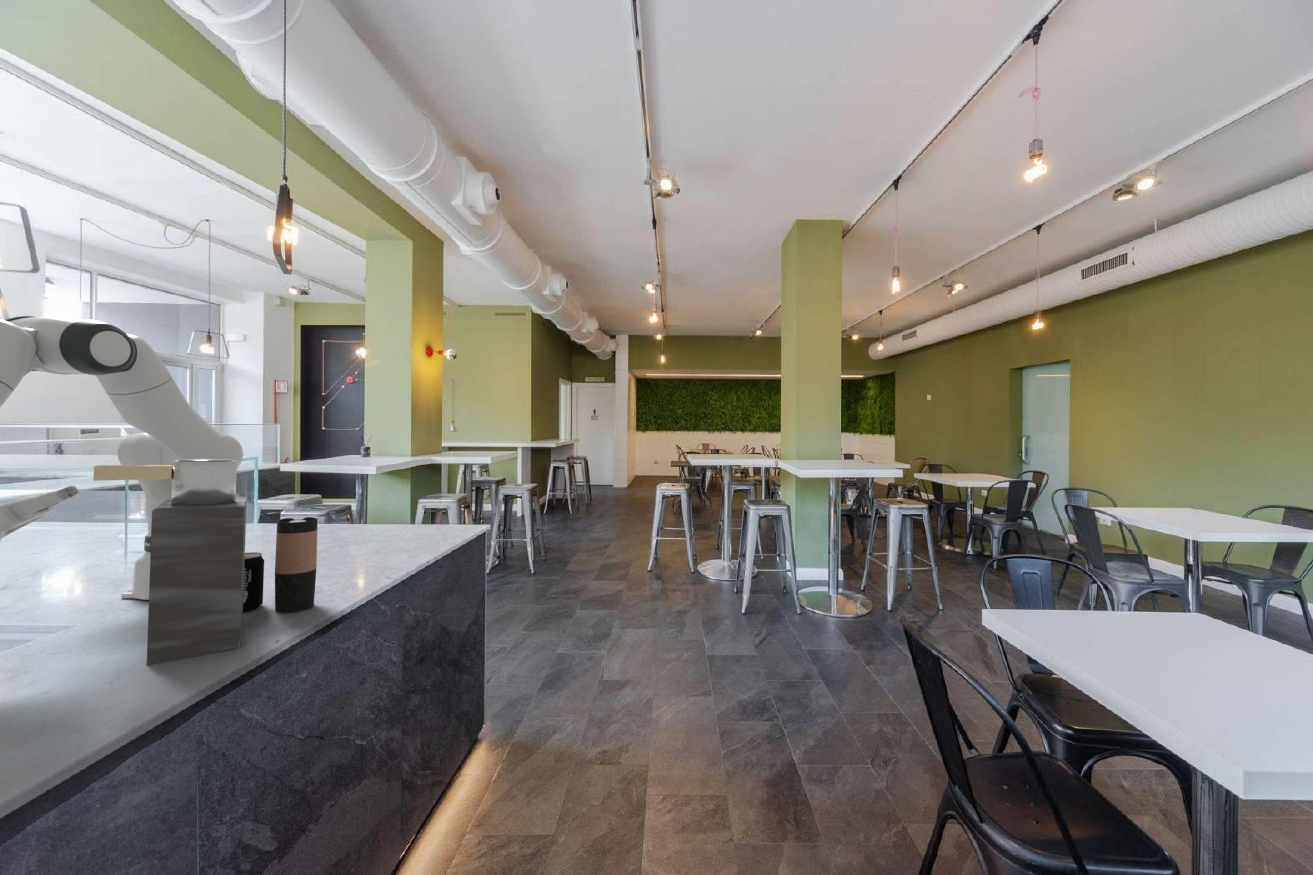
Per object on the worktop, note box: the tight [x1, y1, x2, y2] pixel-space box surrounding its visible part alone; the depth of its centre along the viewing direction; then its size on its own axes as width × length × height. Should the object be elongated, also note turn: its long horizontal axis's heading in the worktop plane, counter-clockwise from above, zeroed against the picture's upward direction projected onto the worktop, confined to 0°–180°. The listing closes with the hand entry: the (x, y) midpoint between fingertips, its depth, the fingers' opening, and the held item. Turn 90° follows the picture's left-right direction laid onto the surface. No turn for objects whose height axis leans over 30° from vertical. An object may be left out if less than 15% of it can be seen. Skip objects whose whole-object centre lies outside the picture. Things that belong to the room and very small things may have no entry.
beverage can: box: [243, 551, 265, 613], centre depth 111 cm, size 7×7×12 cm
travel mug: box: [274, 516, 318, 614], centre depth 113 cm, size 8×8×20 cm
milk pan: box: [92, 459, 238, 507], centre depth 91 cm, size 9×18×8 cm, turn 128°
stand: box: [146, 496, 248, 666], centre depth 94 cm, size 16×12×26 cm
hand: (67, 492), depth 83 cm, fingers open, 8 cm apart
